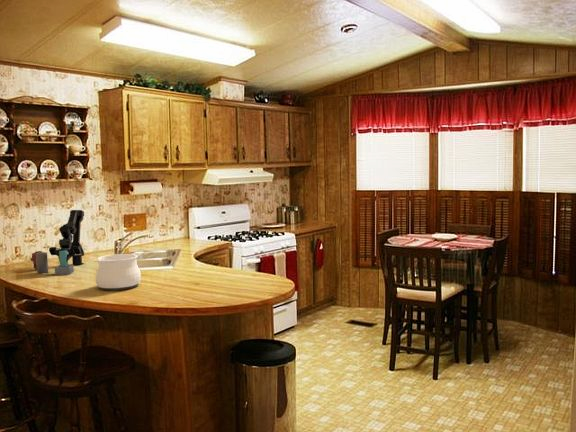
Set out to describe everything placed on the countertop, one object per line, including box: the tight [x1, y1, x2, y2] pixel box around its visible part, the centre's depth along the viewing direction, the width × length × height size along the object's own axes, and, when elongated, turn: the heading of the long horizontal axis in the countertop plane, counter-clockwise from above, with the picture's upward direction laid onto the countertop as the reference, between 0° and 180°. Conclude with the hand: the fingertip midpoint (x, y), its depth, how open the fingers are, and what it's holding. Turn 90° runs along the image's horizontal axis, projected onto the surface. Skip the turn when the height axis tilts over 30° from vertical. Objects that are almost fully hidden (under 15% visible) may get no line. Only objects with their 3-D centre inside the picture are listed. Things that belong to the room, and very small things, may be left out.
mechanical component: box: [30, 250, 43, 271], centre depth 353 cm, size 12×10×10 cm
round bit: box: [36, 251, 49, 275], centre depth 341 cm, size 7×7×13 cm
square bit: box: [58, 250, 69, 267], centre depth 338 cm, size 4×4×13 cm
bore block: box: [54, 263, 75, 276], centre depth 338 cm, size 9×9×5 cm
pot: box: [92, 252, 142, 292], centre depth 296 cm, size 28×24×17 cm
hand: (63, 261), depth 336 cm, fingers closed on square bit, 4 cm apart
